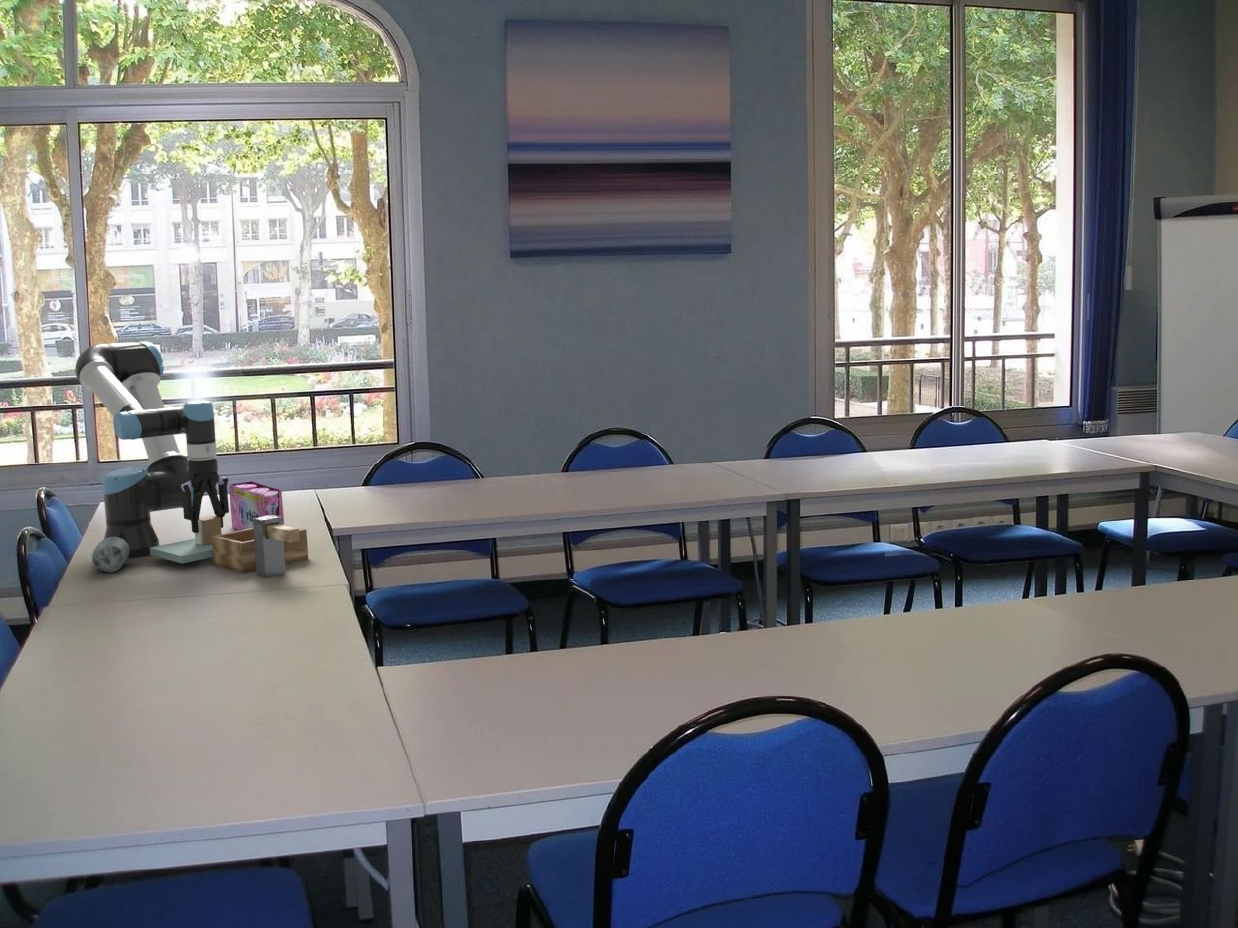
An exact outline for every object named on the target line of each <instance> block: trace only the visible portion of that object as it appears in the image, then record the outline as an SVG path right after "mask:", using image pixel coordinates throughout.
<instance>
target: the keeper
mask: <svg viewBox="0 0 1238 928" xmlns="http://www.w3.org/2000/svg"><path fill="white" fill-rule="evenodd" d="M271 523H275V524H279V525H282V517H281V516H276V515H269V516H264V517H259V518H254V519H253V531H254V545H255V560H256V571H255V572H256V576H257V577H259V578H263V579H268V578H272V577H276V576H281V575H284V574H286V564H285V556H284V541H281V540H276V539H272V538H267V537H266V526H265V525H266V524H271Z"/></svg>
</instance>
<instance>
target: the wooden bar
mask: <svg viewBox="0 0 1238 928" xmlns="http://www.w3.org/2000/svg"><path fill="white" fill-rule="evenodd" d="M284 525H285V524H284ZM284 525H279V524H275V523H271V524H266V525H265V526H266V537H267V538H272V539H276V540H281V541H285V542H294V541H298V540H299V528H300V527H297V528H294V527H295V526H292V527H289V526H290V525H287V526H284Z"/></svg>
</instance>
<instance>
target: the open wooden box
mask: <svg viewBox="0 0 1238 928" xmlns="http://www.w3.org/2000/svg"><path fill="white" fill-rule="evenodd" d="M284 526H289V527H294V528H299V540H298V541H294V542H285V541H284V556H285V565H286V564H290V563H294V562H299V561H302V560H306V559H307V560H308V559H309V548H308V535H307V534H308V533H307V529H306V528H301V527H297V526H296V527H295V526H292V525H291V526H290V525H286V524H284ZM212 546H213V557H212V558H213V566H215V567H218V568H222V569H226V570H230V571H233V572H236V573H241V574H247V573H252V572H256V560H255V545H254V531H253V528H250V529H245V530H236V531H232V532H226V533H223V534H221V535H216V536H212Z"/></svg>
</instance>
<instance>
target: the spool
mask: <svg viewBox="0 0 1238 928" xmlns="http://www.w3.org/2000/svg"><path fill="white" fill-rule="evenodd" d="M103 539H104V538H103ZM103 539H102V540H101V541H99V542H98V544H97V545H96V546H95V547H94V549H93V551H92V554H91V562H92V564H93V566H94V567H95V568H97V569H98V570H100V571H102V572H104V573H115V572H118V571H120V569H121V568H122V566H123V565H124V563H125V562H126V560H127V559H128V558H129V557H128V556H129V551H130V550H129V545H128V543H127V542H126V541H125V540H123V539H121V538H119V537H108V538H105V539H104V540H103Z"/></svg>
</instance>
